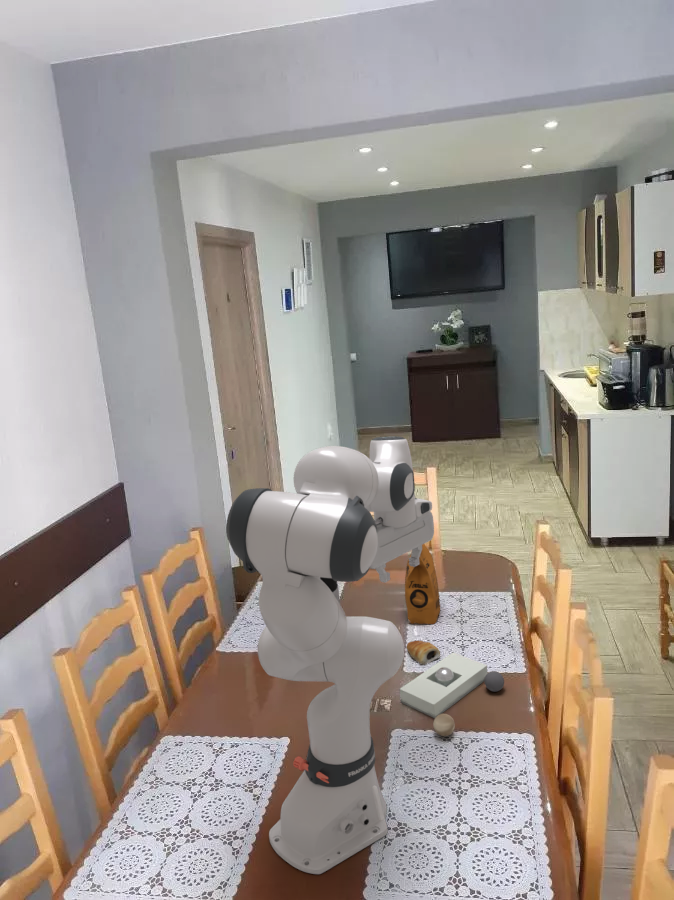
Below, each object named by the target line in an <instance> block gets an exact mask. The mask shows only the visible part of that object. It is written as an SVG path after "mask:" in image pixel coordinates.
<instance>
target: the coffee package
mask: <svg viewBox="0 0 674 900" xmlns="http://www.w3.org/2000/svg"><path fill="white" fill-rule="evenodd" d="M411 553H412V551H411ZM411 553H410V555H409V557H408V558H407V559H408V560H407V562H406V569H405V575H404V576H405V577H404V600H405V605H406V611H407V620H408V622H409V623H410V624H413V625H414V624H418V625H434V624H436V623H437V620H438V618H439V615H440V613H441V603H440V602H441V599H440V592H439V584H438V583H439V582H438V577H437V572H436V569H435V564H434V559H433V558H434V557H433V556H432V553H431V552H430V549H429V548H428V547H427V546H426V543H424V544H422V551H421V554H420V557H419V563H420V564H419V565H417V566H415V567H413V566H410V565H409V558H410V557H411Z"/></svg>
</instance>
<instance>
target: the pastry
mask: <svg viewBox="0 0 674 900" xmlns="http://www.w3.org/2000/svg"><path fill="white" fill-rule="evenodd" d="M406 650H407V651H408V653H409V655H410V657H411V658H412V659H414V661H416V662H417V663H418V662H419V664H420V665H427V663H428V664H430V663H431V662H433V661H435V660H437V659H439V658H440V655H441V651H440V649H439V648H438V647H436V646H435V645H434V644H433V643H431V642H428V641H427V642H426V641H423V640H413V641H412V640H411V641H410V642H407V644H406Z"/></svg>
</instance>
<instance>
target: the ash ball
mask: <svg viewBox="0 0 674 900" xmlns="http://www.w3.org/2000/svg"><path fill="white" fill-rule="evenodd" d="M433 719H434V720H433V724H432V725H433V730H434V731H435V733H436V734H437V735H439V736H441V737H448V736H451V735H452V734H453V732H454V731H455V727H456V724H455V723H456V722H455V720H454V718H453V717H452V716H451V715H450V714H447V713H442V714H439V715H438V716H437V717H436V718H433Z"/></svg>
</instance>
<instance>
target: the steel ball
mask: <svg viewBox="0 0 674 900" xmlns="http://www.w3.org/2000/svg"><path fill="white" fill-rule="evenodd" d="M435 680H436V683H438V684H440V685H443V686H445V687H447V686H449V685H450V684H451V683H453V682H454V674H453V672H452V671H451V670H450V669H449V668H446V667H443V668H440V669H438V670H437V672H436V674H435Z"/></svg>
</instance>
